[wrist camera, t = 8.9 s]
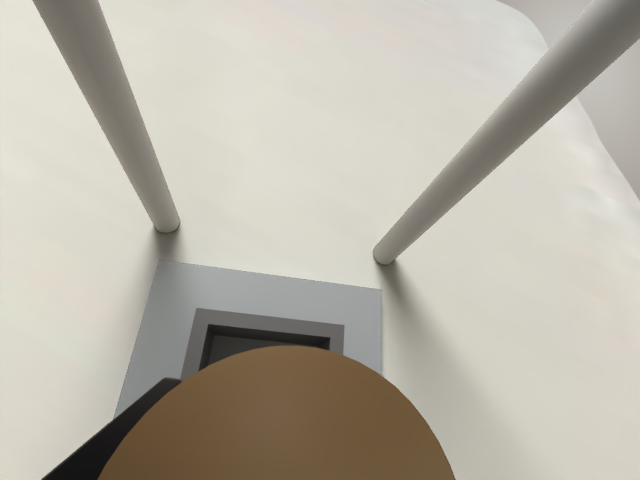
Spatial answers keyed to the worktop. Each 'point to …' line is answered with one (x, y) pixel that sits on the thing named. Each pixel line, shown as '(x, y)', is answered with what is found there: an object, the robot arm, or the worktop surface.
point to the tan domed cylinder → (281, 424)
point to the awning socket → (285, 292)
